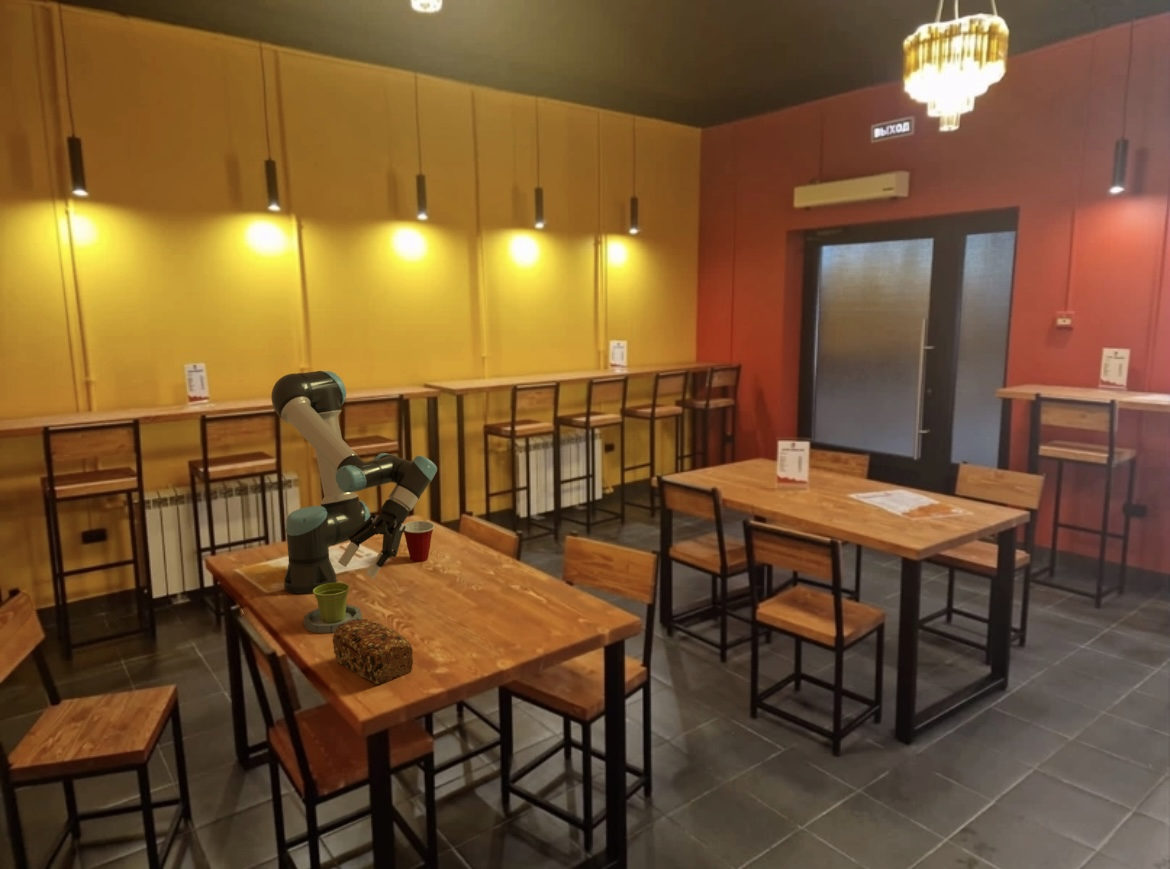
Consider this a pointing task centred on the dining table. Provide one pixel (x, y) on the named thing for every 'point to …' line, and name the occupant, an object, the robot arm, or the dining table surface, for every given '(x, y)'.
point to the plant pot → (332, 601)
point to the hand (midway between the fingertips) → (355, 570)
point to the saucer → (318, 626)
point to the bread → (372, 650)
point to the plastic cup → (418, 539)
